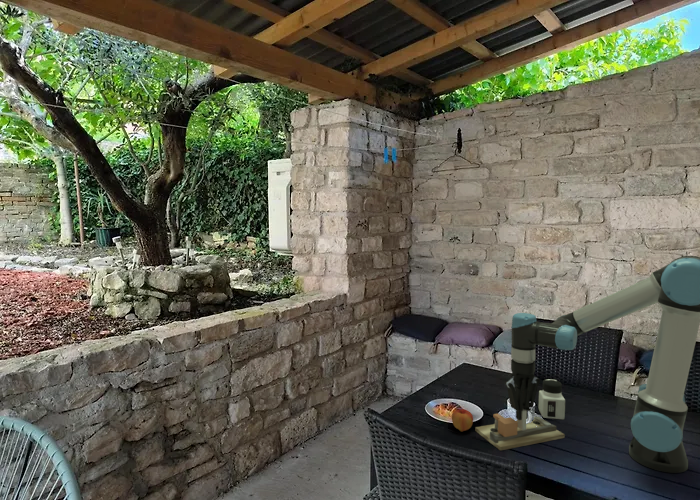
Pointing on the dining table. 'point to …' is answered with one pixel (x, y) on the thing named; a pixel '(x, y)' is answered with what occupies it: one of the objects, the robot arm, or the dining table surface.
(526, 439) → the board
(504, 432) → the block
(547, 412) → the container
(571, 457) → the dining table surface
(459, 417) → the apple
